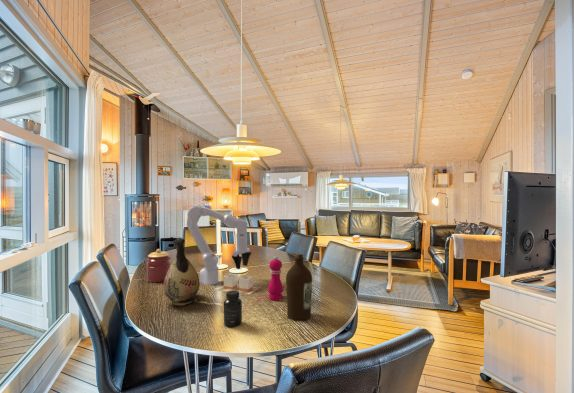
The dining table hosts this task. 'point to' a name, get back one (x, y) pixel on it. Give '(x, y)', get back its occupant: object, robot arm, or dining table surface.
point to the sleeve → (245, 283)
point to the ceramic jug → (181, 278)
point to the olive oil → (299, 290)
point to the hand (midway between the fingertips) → (241, 267)
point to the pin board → (237, 289)
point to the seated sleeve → (230, 281)
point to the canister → (157, 266)
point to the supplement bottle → (232, 309)
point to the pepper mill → (275, 280)
